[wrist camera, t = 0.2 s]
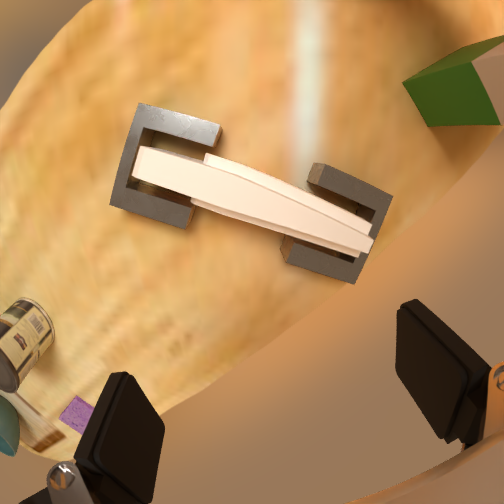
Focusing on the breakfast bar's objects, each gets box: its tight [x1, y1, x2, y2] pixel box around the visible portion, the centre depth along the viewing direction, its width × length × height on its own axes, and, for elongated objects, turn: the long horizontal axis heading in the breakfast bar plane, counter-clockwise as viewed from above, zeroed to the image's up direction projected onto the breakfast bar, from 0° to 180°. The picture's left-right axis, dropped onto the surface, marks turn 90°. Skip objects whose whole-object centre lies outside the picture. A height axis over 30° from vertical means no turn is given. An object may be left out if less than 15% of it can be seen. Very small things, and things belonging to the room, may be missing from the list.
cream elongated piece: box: [132, 146, 374, 258], centre depth 33 cm, size 6×25×13 cm, turn 71°
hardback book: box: [402, 35, 504, 127], centre depth 20 cm, size 18×7×24 cm, turn 127°
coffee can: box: [0, 298, 54, 393], centre depth 34 cm, size 10×10×14 cm
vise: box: [109, 103, 393, 284], centre depth 34 cm, size 12×31×5 cm, turn 70°
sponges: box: [59, 396, 94, 435], centre depth 48 cm, size 7×13×2 cm, turn 136°
